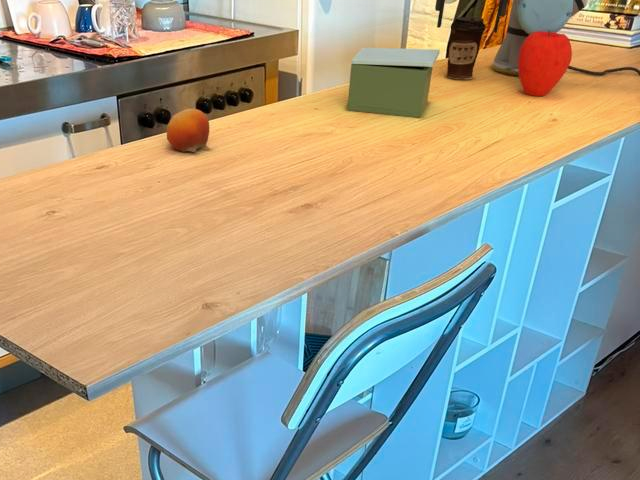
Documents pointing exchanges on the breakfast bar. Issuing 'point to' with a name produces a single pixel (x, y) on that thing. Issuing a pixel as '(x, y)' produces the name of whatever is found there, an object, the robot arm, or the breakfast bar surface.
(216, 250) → the breakfast bar surface
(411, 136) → the breakfast bar surface
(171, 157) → the breakfast bar surface
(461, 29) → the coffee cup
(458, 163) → the breakfast bar surface
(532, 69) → the apple
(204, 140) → the fruit
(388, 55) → the pale blue box lid
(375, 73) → the green storage bin
